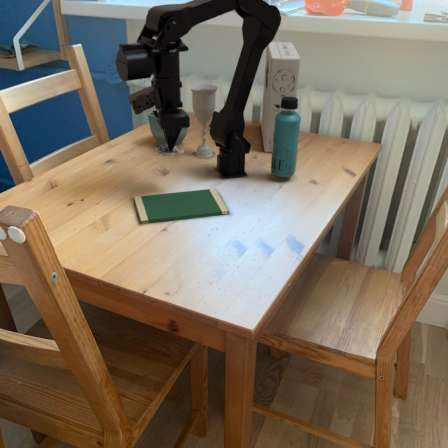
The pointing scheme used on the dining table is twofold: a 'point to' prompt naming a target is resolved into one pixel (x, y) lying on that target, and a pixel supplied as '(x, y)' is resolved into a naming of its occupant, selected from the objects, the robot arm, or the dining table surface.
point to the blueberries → (167, 150)
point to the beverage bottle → (286, 139)
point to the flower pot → (158, 132)
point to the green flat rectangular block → (179, 206)
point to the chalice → (203, 112)
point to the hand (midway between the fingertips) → (169, 146)
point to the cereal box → (278, 85)
